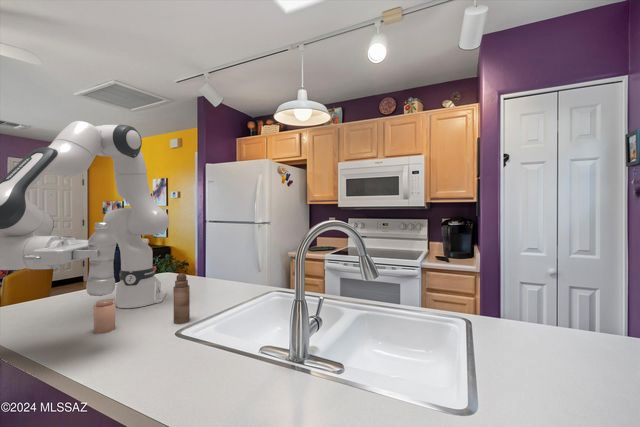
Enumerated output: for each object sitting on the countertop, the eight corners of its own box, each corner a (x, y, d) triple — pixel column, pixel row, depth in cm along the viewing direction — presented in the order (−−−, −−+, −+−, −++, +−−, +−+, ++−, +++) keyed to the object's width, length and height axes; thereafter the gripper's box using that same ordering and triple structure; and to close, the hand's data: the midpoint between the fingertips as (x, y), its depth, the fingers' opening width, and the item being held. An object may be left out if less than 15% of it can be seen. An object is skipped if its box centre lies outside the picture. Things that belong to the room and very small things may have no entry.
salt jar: (100, 327, 98) (100, 299, 98) (118, 326, 99) (118, 298, 99) (89, 334, 92) (89, 304, 92) (109, 332, 93) (109, 303, 93)
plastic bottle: (99, 299, 78) (102, 223, 78) (79, 297, 80) (81, 222, 80) (121, 293, 85) (123, 222, 85) (101, 291, 86) (104, 221, 86)
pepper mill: (176, 319, 105) (176, 271, 105) (191, 318, 106) (191, 271, 105) (171, 324, 100) (171, 274, 100) (187, 323, 101) (187, 274, 100)
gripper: (16, 245, 70) (82, 244, 72) (73, 237, 90) (123, 236, 92) (16, 272, 70) (82, 270, 72) (73, 258, 90) (123, 257, 92)
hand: (105, 251), depth 82 cm, fingers closed on plastic bottle, 6 cm apart
